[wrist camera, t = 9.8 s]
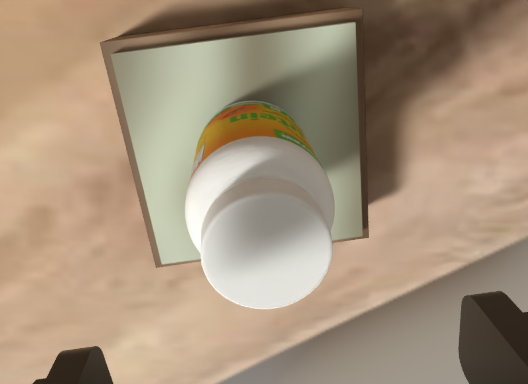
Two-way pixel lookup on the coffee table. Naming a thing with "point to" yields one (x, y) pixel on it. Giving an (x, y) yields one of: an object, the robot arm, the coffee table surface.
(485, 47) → the coffee table surface
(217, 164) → the supplement bottle
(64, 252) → the coffee table surface
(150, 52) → the plinth
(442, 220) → the coffee table surface
